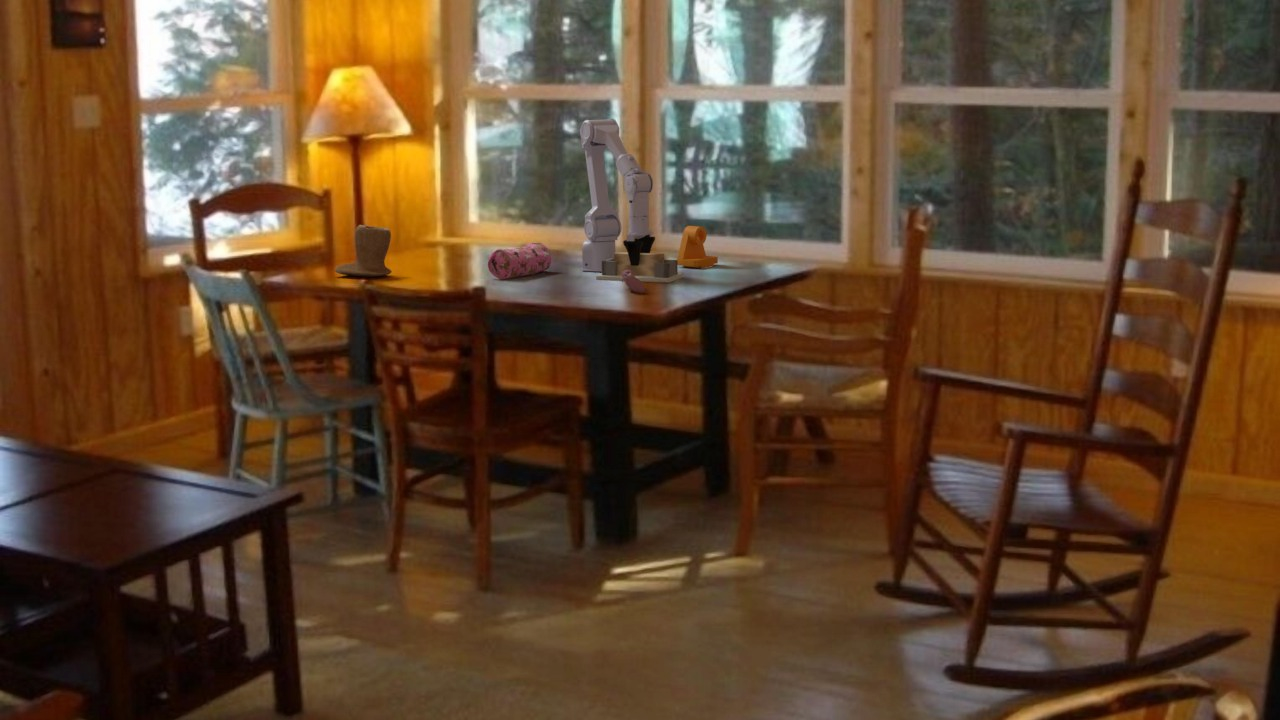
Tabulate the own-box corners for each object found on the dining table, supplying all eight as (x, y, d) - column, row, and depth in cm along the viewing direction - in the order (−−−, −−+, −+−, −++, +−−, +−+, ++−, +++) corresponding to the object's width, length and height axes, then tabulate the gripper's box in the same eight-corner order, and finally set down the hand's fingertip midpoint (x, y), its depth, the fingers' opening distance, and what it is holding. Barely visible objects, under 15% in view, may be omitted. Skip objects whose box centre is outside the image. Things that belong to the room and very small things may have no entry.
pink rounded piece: (628, 294, 474) (616, 271, 473) (643, 286, 474) (631, 263, 473) (631, 299, 465) (619, 276, 463) (646, 291, 465) (634, 268, 463)
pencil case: (527, 270, 513) (526, 240, 512) (553, 272, 509) (552, 242, 507) (485, 279, 495) (484, 248, 494) (512, 281, 491) (511, 250, 489)
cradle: (596, 279, 492) (595, 261, 491) (611, 273, 503) (611, 256, 502) (668, 282, 484) (668, 264, 483) (683, 276, 495) (683, 259, 494)
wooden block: (614, 274, 494) (613, 253, 493) (618, 272, 497) (618, 252, 496) (660, 276, 489) (660, 255, 488) (664, 274, 492) (664, 253, 491)
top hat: (400, 274, 506) (398, 223, 503) (377, 280, 496) (374, 228, 493) (358, 272, 513) (356, 221, 510) (334, 277, 502) (331, 225, 499)
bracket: (696, 269, 510) (695, 229, 507) (677, 267, 514) (677, 227, 512) (719, 265, 518) (718, 225, 515) (700, 263, 522) (700, 224, 520)
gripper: (643, 219, 482) (643, 267, 484) (661, 213, 495) (661, 260, 498) (619, 218, 484) (620, 266, 487) (638, 213, 498) (638, 260, 500)
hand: (639, 263), depth 492 cm, fingers open, 7 cm apart
